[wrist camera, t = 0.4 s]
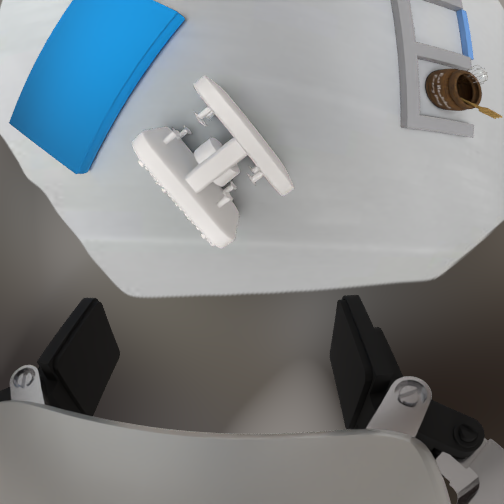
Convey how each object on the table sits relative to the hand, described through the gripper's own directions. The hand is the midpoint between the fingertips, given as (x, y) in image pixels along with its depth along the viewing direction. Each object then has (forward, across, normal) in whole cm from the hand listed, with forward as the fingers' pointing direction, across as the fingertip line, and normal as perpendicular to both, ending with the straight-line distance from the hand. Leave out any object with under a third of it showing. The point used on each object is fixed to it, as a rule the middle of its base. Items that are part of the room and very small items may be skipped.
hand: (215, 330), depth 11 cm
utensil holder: (+30, -28, -13) cm, 43 cm away
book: (+31, +21, -18) cm, 41 cm away
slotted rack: (+30, -27, -18) cm, 44 cm away
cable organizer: (+30, +3, -3) cm, 31 cm away
